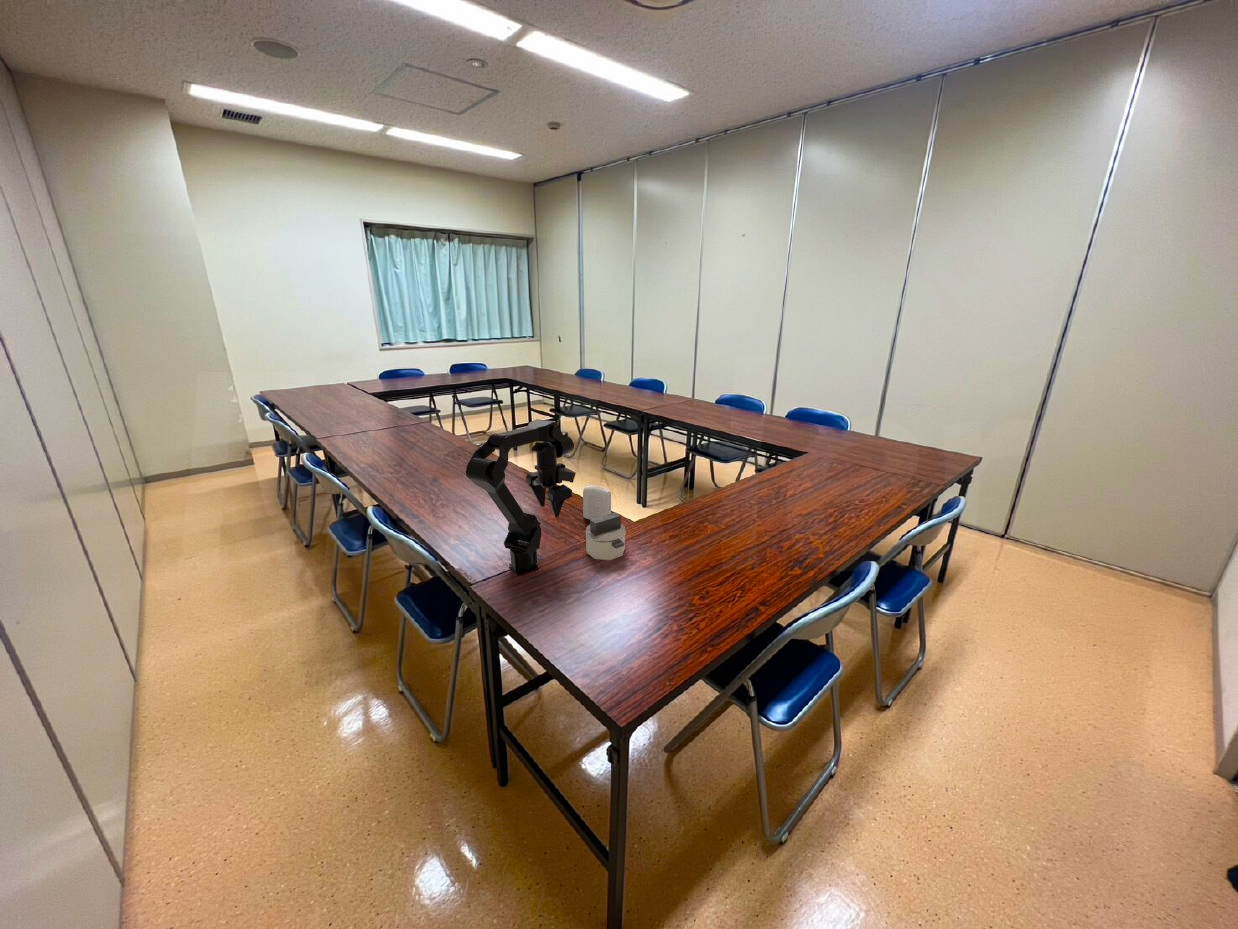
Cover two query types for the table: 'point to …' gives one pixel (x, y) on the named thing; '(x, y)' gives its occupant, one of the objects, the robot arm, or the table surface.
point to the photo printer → (596, 502)
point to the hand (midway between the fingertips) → (549, 511)
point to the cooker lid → (606, 528)
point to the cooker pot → (605, 549)
